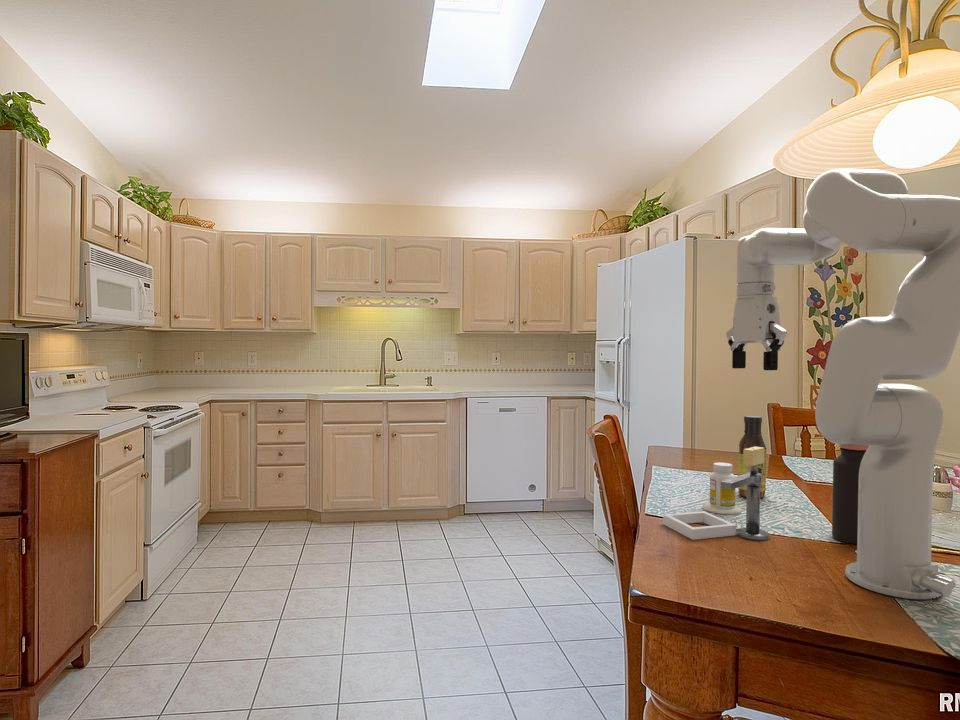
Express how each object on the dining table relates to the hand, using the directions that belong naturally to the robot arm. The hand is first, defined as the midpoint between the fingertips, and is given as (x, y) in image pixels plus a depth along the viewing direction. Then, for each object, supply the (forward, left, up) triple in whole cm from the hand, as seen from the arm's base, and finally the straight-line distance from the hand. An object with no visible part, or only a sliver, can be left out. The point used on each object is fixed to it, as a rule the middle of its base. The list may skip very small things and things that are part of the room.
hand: (754, 369), depth 129 cm
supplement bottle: (+4, +5, -32) cm, 32 cm away
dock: (-7, +19, -32) cm, 38 cm away
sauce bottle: (+12, -10, -32) cm, 36 cm away
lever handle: (-15, +15, -22) cm, 30 cm away
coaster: (+4, +5, -32) cm, 33 cm away
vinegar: (-20, -6, -32) cm, 39 cm away
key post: (-13, +11, -32) cm, 36 cm away
